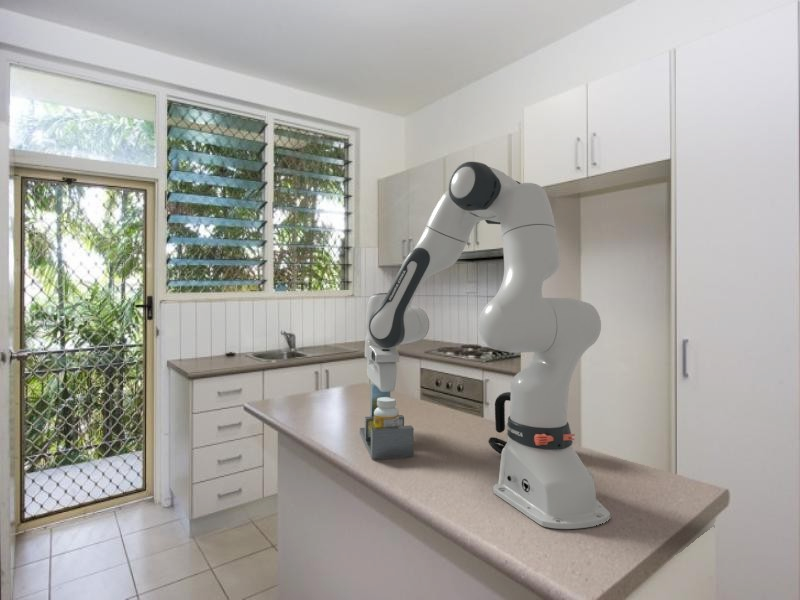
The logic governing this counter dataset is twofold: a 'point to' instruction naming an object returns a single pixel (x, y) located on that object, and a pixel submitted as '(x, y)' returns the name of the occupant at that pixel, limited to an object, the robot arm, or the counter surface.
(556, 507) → the robot arm
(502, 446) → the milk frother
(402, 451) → the vise base
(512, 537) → the counter surface
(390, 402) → the supplement bottle
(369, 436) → the sliding jaw
